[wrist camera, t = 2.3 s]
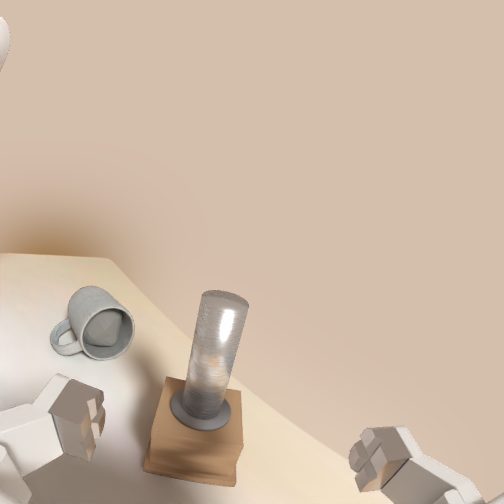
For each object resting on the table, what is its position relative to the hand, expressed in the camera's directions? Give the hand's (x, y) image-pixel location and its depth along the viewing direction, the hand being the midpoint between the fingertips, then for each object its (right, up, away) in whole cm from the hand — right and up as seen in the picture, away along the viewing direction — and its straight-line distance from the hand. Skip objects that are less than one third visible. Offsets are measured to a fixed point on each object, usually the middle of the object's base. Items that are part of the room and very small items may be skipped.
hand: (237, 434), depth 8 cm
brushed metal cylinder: (-4, -7, +14) cm, 17 cm away
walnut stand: (-5, -13, +16) cm, 21 cm away
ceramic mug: (-21, -7, +26) cm, 34 cm away
